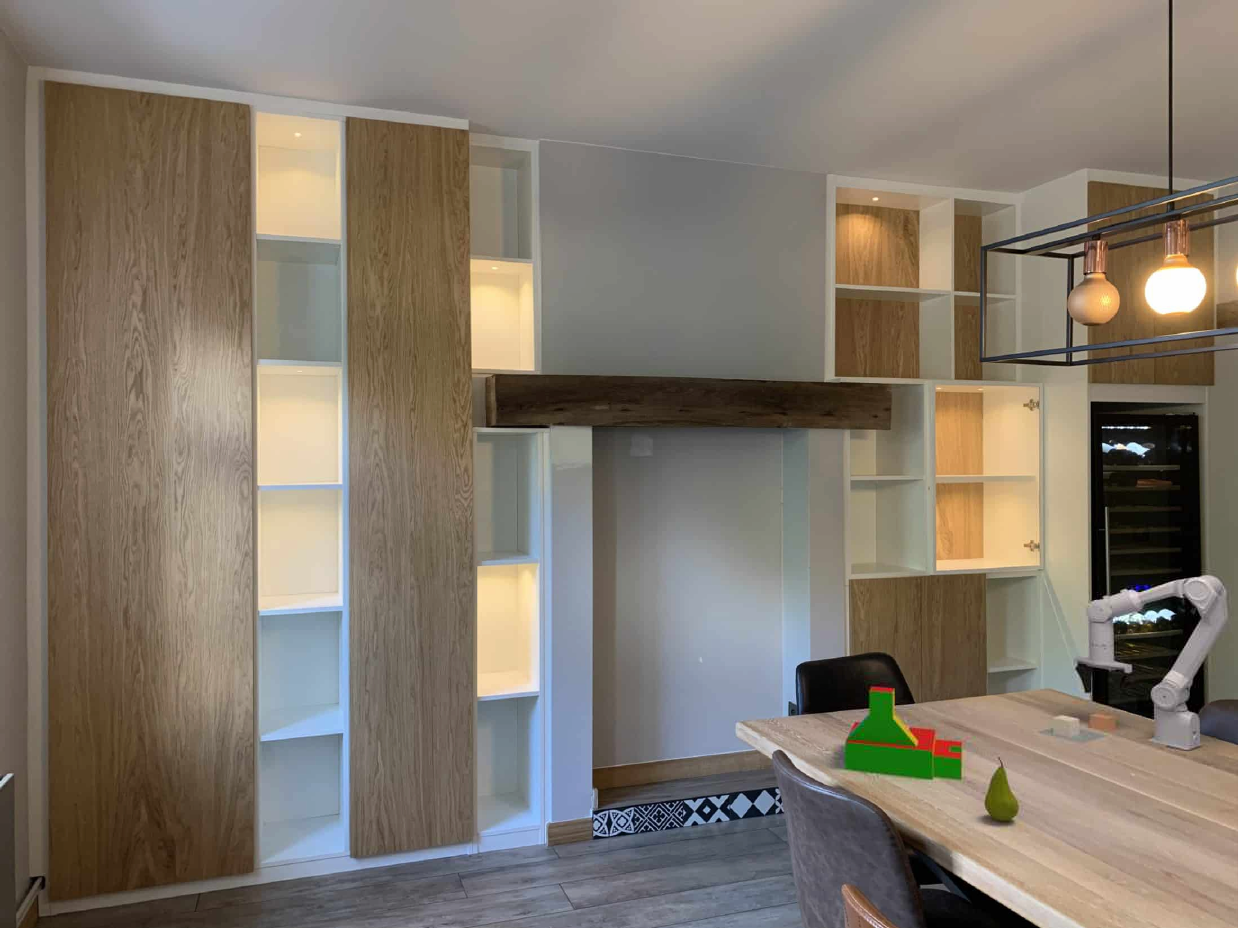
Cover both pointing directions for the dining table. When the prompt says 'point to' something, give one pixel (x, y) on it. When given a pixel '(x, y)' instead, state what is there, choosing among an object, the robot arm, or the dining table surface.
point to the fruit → (1000, 797)
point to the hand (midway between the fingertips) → (1102, 695)
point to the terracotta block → (1102, 722)
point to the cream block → (1066, 726)
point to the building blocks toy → (898, 744)
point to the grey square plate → (1081, 737)
